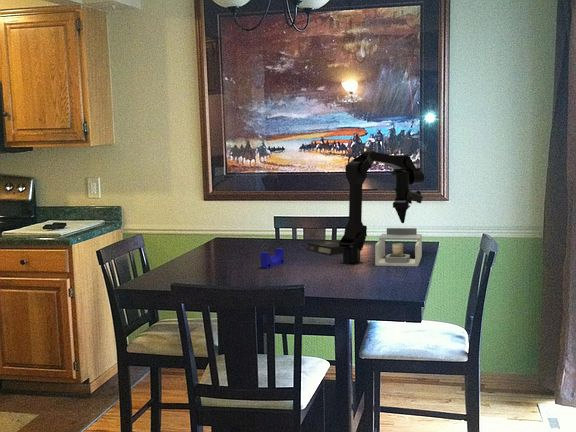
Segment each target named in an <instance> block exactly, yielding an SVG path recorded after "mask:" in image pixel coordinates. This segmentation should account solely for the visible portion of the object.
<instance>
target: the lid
mask: <svg viewBox="0 0 576 432" xmlns="http://www.w3.org/2000/svg"><path fill="white" fill-rule="evenodd" d="M417 232H418V231H417V228H416V227H411V228H409V227H405V228H404V227H402V228H401V227H398V228H397V227H389V228H388V227H387V228H386V233H381V234H380V236H379V237H378V241H379V240H385V241H386V240H387V241H388V240H389V241H395V240H396V241H401V240H402V241H417V240H420V239H421V237H423V235H422V233H417Z"/></svg>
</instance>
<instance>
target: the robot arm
mask: <svg viewBox="0 0 576 432" xmlns="http://www.w3.org/2000/svg"><path fill="white" fill-rule="evenodd" d="M374 162H375V163H379V164H385V165H388V166H389V167H391V168H393V169H394V170H393V171H392V172H391V175H392V176H394V181H395V182H394V186H395V188H394V192H395V195H394V196H395V198H394V201H393V202H392V209H395V211H396V214H397V216H398V219H399V220H400V222H401V224H405V220H406V215H407V211H408V210H409V208H410V207H411V205H412V204H413V202H416V203H417V204H421V203H422V201H423V199H424V195H423V194H422V191H421V190H417V191H416V192H415V191H413V190H412V189H411V187H410V185H420V184H423V182H424V181H425V174H424V172H423V171H422V169H421V167H416V166H415V164H414V162H413V160H412V158H411V155H409V154H389V153H384V152H383V153H382V152H378V151H374V150H364V151H363V152H362V153H361V154H360V155H358V156H357V157H354V158H353V159H352V160H351V161H349V162H347V164H346V165H345V167H344V168H345V169H344V170H345V178H346V180H347V182H348V184H349V193H348V194H349V196H348V199H349V200H348V202H349V203H348V208H349V209H348V222H347V224H346V226H345V228H344V233H343V236H342V237H341V239H339V240H340V241H339V246H340V247H342V248H343V253H342V261H340V262H339V263H340V264H344V265H352V266H353V265H359V264H362V263H364V262H363V261H361V251H360V249H363V248H364V245H365V241H366V239H367V236H368V235H367V234H368V233H367V230H368V227H367V225H366V224H365V225H364V223H363V221H362V219H363V218H362V215H363V212H362V211H363V208H362V207H363V205H362V204H363V184H364V182H365V181H366V179H367V175H368V171H369V170H370V169H371V168H372V167H373V163H374ZM351 243H353V244H351Z"/></svg>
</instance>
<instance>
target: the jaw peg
mask: <svg viewBox="0 0 576 432" xmlns="http://www.w3.org/2000/svg"><path fill="white" fill-rule="evenodd" d="M391 247H392V254H393V257H403V254H404V243H400V242H399V243H392V246H391Z"/></svg>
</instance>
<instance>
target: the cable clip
mask: <svg viewBox="0 0 576 432" xmlns="http://www.w3.org/2000/svg"><path fill="white" fill-rule="evenodd" d="M284 264H285V249H284V248H281V247H277V248H275V251H274V255H271V256H270V252H268V251H267V252H266V251H261V252H260V268H261V269H272V268H274V267H277V266H280V265H284Z"/></svg>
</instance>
